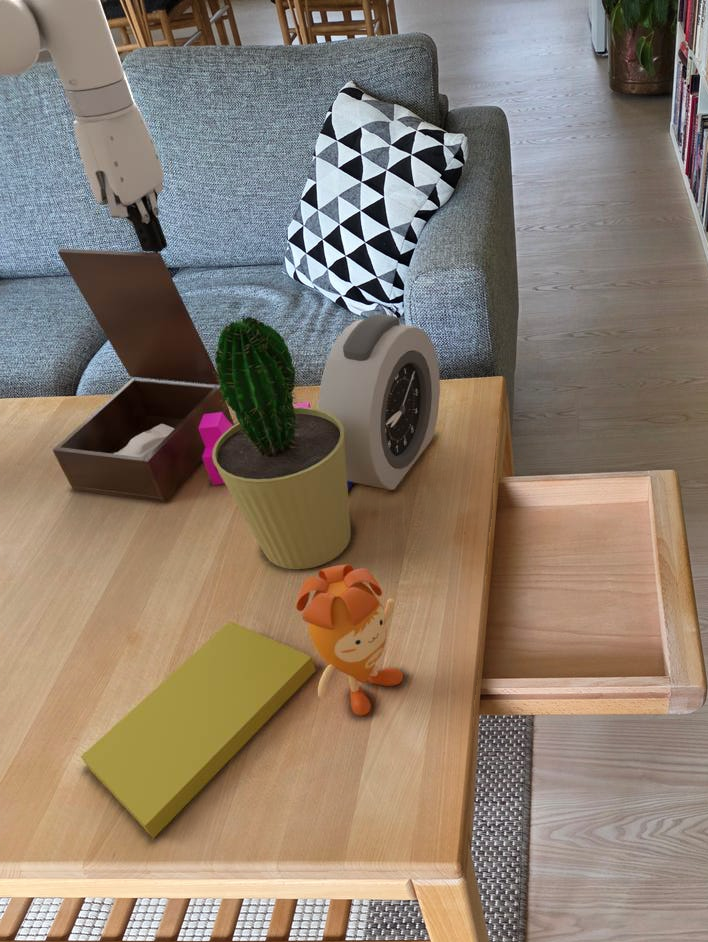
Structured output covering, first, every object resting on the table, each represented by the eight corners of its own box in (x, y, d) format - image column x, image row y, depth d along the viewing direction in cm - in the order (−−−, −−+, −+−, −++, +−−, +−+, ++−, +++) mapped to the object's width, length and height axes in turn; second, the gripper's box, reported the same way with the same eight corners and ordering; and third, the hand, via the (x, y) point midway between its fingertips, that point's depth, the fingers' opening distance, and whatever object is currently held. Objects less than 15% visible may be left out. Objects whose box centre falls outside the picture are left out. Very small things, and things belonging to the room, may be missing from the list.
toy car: (102, 475, 125) (92, 455, 122) (167, 434, 131) (160, 415, 129) (124, 486, 122) (115, 466, 120) (190, 444, 128) (183, 424, 126)
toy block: (212, 484, 122) (194, 438, 117) (220, 459, 126) (203, 414, 121) (317, 473, 121) (303, 426, 116) (322, 448, 125) (309, 402, 120)
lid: (157, 256, 111) (160, 252, 111) (57, 252, 115) (60, 248, 115) (218, 384, 127) (221, 381, 128) (129, 376, 131) (132, 373, 132)
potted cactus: (333, 590, 104) (267, 358, 83) (225, 569, 109) (135, 344, 87) (387, 513, 114) (339, 287, 92) (285, 496, 118) (217, 278, 97)
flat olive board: (235, 634, 100) (70, 786, 87) (230, 620, 99) (61, 774, 85) (315, 670, 95) (153, 838, 82) (311, 656, 93) (145, 825, 80)
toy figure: (351, 739, 88) (318, 636, 77) (299, 705, 92) (260, 602, 81) (428, 668, 94) (408, 562, 83) (376, 638, 98) (350, 534, 87)
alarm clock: (380, 508, 115) (357, 371, 100) (330, 497, 117) (301, 361, 102) (444, 422, 128) (432, 291, 114) (398, 414, 130) (381, 284, 116)
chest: (165, 503, 120) (147, 461, 115) (73, 490, 124) (52, 449, 119) (234, 426, 133) (221, 385, 128) (148, 417, 137) (132, 377, 132)
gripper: (110, 82, 114) (161, 227, 127) (39, 119, 104) (102, 271, 117) (159, 80, 111) (205, 228, 125) (90, 118, 102) (148, 273, 115)
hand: (155, 248), depth 121 cm, fingers closed
